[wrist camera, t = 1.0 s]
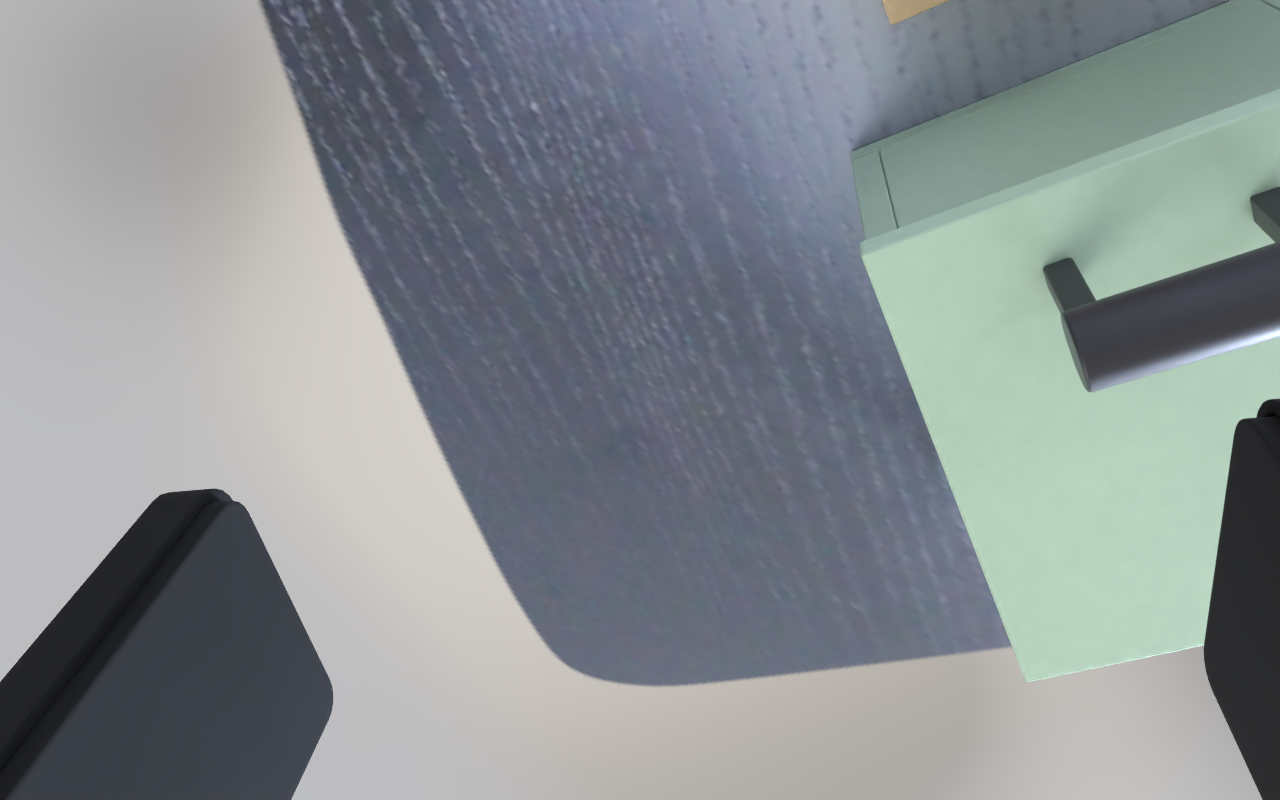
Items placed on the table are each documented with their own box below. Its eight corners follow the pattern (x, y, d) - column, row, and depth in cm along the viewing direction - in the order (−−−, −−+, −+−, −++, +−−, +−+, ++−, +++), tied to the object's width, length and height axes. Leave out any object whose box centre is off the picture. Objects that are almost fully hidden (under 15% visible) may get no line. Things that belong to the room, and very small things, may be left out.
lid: (858, 241, 25) (874, 344, 21) (1456, 22, 21) (1632, 93, 17) (1021, 664, 32) (1059, 807, 28) (1493, 562, 28) (1625, 712, 23)
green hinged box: (849, 151, 33) (868, 268, 25) (1282, -22, 29) (1457, 57, 21) (975, 491, 39) (1020, 663, 32) (1343, 390, 35) (1492, 560, 28)
